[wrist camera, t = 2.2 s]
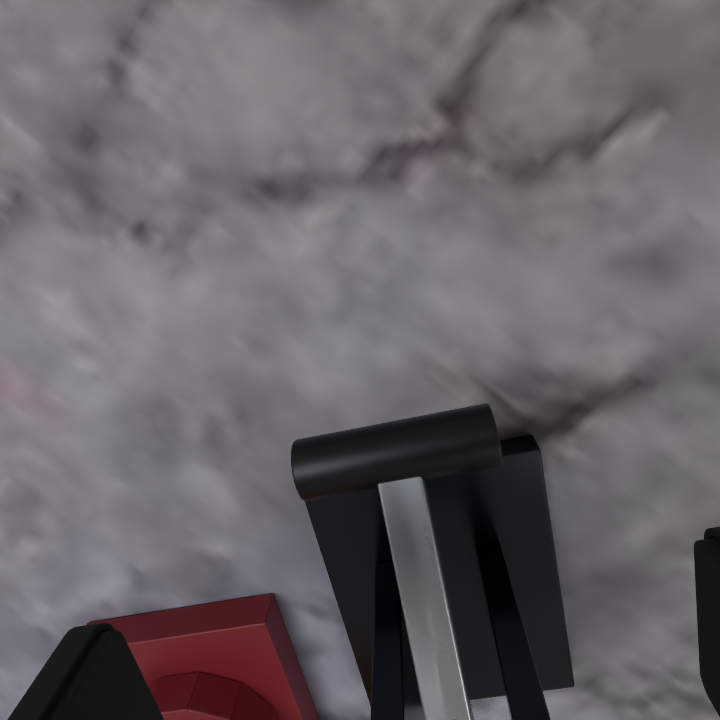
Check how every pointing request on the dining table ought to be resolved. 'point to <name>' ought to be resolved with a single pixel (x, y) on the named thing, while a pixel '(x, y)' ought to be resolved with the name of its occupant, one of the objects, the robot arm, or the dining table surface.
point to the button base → (219, 661)
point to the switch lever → (410, 522)
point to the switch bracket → (457, 586)
